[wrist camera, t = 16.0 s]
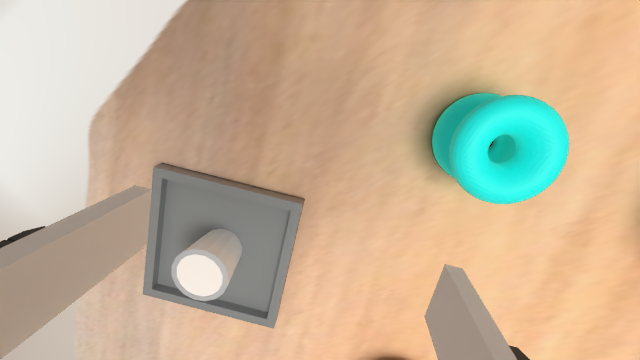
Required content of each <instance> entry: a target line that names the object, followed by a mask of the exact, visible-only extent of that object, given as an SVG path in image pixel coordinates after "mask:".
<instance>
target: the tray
mask: <svg viewBox="0 0 640 360" xmlns="http://www.w3.org/2000/svg"><path fill="white" fill-rule="evenodd" d="M304 200H305V199H303V198H299V197H295V196H291V195H287V194H283V193H279V192H275V191H271V190H267V189H263V188H259V187H255V186H251V185H247V184H243V183H239V182H235V181H231V180H227V179H223V178H219V177H215V176H211V175H207V174H203V173H199V172H196V171H192V170H188V169H184V168H180V167H176V166H172V165H168V164H164V163H162V164H159V165H157V166H154V168H153V180H152V193H151V205H150V217H149V229H148V241H147V252H146V264H145V276H144V288H143V294H144V295H148V296H152V297H155V298H159V299H163V300H167V301H171V302H175V303H178V304H182V305H186V306H190V307H194V308H197V309H201V310H205V311H209V312H213V313H217V314H220V315H224V316H228V317H232V318H236V319H239V320H243V321H247V322H251V323H255V324H258V325H262V326H266V327H270V328H274V326H275V323H276V320H277V316H278V312H279V307H280V303H281V299H282V294H283V290H284V286H285V281H286V277H287V273H288V269H289V264H290V260H291V256H292V251H293V247H294V243H295V238H296V234H297V230H298V226H299V221H300V217H301V213H302V208H303V204H304ZM219 228H220V229H226V230H228V231H230V232H232V233H234V234H235V235H236V236H237V237H238V239H239V240H240V242H241V245H242V255H241V257H240V259H239V262H238V264H237V266H236V268H235V270H234V273H233V275H232V277H231V279H230V282H229V284H228V286H227V288H226V289H225V291H224V293H223V294H222V295H221V296H219V297H218V298H216V299H214V300H209V301H200V300H194V299H192V298H190V297H188V296H186V295H185V294H183V293H182V292H181V291H180V290H179V289H178V288H177V287H176V285H175V283H174V280H173V278H172V264H173V262H174V260H175V258H176V257H177V256H178V255H179V254H181V253H182V252H183V251H184V250H186V249H187V248H188V247H190V246H191V245H192V244H194V243H195V242H196V241H198V240H199V239H200V238H202V237H203V236H204V235H206V234H207V233H208V232H210V231H211V230H214V229H219Z"/></svg>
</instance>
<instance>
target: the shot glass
mask: <svg viewBox="0 0 640 360" xmlns="http://www.w3.org/2000/svg"><path fill="white" fill-rule="evenodd" d="M241 255H242V245H241V242H240V240H239V239H238V237H237V236H236V235H235V234H234V233H232V232H230V231H228V230H226V229H220V228H219V229H214V230H211V231H210V232H208V233H207V234H206V235H204V236H203V237H202V238H200V239H199V240H198V241H196V242H195V243H194V244H192V245H191V246H190V247H188V248H187V249H186V250H184V251H183V252H182V253H181V254H179V255H178V256H177V257H176V258H175V260H174V262H173V264H172V278H173V280H174V283H175V285H176V287H177V288H178V289H179V290H180V291H181V292H182V293H183V294H185V295H186V296H188V297H190V298H192V299H194V300H200V301H209V300H214V299H216V298H218V297H219V296H221V295H222V294H223V293H224V291H225V289H226V288H227V286H228V284H229V282H230V279H231V277H232V275H233V273H234V270H235V268H236V266H237V264H238V262H239V259H240V257H241Z"/></svg>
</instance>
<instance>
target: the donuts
mask: <svg viewBox="0 0 640 360" xmlns="http://www.w3.org/2000/svg"><path fill="white" fill-rule="evenodd" d="M493 140H494V142H493V144H492V146H491V147H490V148H489V146H490V144H491V143H492V141H493ZM432 148H433V153H434V156H435V159H436V161H437V162H438V164H439V165H440V167H441V168H442V169H443V170H444V171H445V172H446V173H447V174H449V175H450V176H452V177H453V178H456V180H457V182H458V183H459V184H460V186H461V187H462V188H463V189H464V190H465V191H467V192H468V193H469V194H471V195H472V196H474V197H476V198H478V199H480V200H482V201H486V202H490V203H495V204H511V203H517V202H521V201H524V200H527V199H529V198H532V197H534V196H536V195H537V194H539V193H541V192H542V191H543V190H545V189H546V188H547V187H548V186H550V185H551V184H552V183H553V182H554V180H555V179H556V178H557V177H558V175H559V174H560V172H561V171H562V169H563V167H564V165H565V162H566V159H567V156H568V150H569V138H568V132H567V129H566V126H565V124H564V122H563V120H562V118H561V117H560V115H559V114H558V113H557V112H556V111H555V110H554V109H553V108H552V107H551V106H549V105H548V104H546V103H545V102H543V101H541V100H539V99H536V98H533V97H529V96H523V95H507V96H500V95H497V94H491V93H477V94H472V95H469V96H466V97H463V98H461V99H459V100H457V101H456V102H454V103H453V104H452V105H450V106H449V107H448V108H447V109H446V110H445V111H444V112H443V113H442V115H441V116H440V118H439V119H438V121H437V123H436V125H435V128H434V131H433V136H432Z"/></svg>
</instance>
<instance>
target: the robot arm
mask: <svg viewBox="0 0 640 360" xmlns="http://www.w3.org/2000/svg"><path fill="white" fill-rule="evenodd" d="M151 193H152V190H151V189H147V188H143V187H139V186H133V187H131V188H129V189H127V190H124V191H122V192H120V193H118V194H116V195H114V196H112V197H109V198H107V199H105V200H103V201H101V202H99V203H97V204H94V205H92V206H90V207H88V208H86V209H84V210H82V211H79V212H77V213H75V214H73V215H71V216H69V217H67V218H65V219H62V220H60V221H58V222H56V223H54V224H51V225H49V226H47V227H45V226H43V227H39V228H35V229H31V230H27V231H23V232H21V233H19V234H17V235H14V236H12V237H10V238H8V239H7V240H3V241H1V242H0V359H2V358H3V357H4V356H5V355H7V354H8V353H9V352H11V351H12V350H13V349H15V348H16V347H17V346H18V345H20V344H21V343H22V342H23V341H25V340H26V339H27V338H29V337H30V336H31V335H32V334H34V333H35V332H36V331H38V330H39V329H40V328H41V327H43V326H44V325H45V324H46V323H48V322H49V321H50V320H51V319H53V318H54V317H55V316H57V315H58V314H59V313H61V312H62V311H63V310H64V309H66V308H67V307H68V306H69V305H71V304H72V303H73V302H75V301H76V300H77V299H78V298H80V297H81V296H82V295H84V294H85V293H86V292H87V291H89V290H90V289H91V288H93V287H94V286H95V285H96V284H98V283H99V282H100V281H101V280H103V279H104V278H105V277H107V276H108V275H109V274H110V273H112V272H113V271H114V270H116V269H117V268H118V267H119V266H121V265H122V264H123V263H124V262H126V261H127V260H128V259H130V258H131V257H132V256H133V255H135V254H136V253H137V252H139V251H140V250H141V249H142V248H144V247H145V246H146V245H147V241H148V229H149V217H150V205H151ZM425 319H426V323H427V326H428V329H429V332H430V335H431V338H432V342H433V345H434V348H435V351H436V354H437V358H438V360H530V359H529V358H528V357H527V356H526V355H525V354H524V353H522V352H521V351H520V350H519V349H518V348H517V347H513V346H509V345H508V344H507V342H506V340H505V339H504V337H503V335H502V334H501V332H500V330H499V329H498V327H497V325H496V324H495V322H494V320H493V319H492V317H491V315H490V314H489V312H488V310H487V309H486V307H485V305H484V304H483V302H482V300H481V299H480V297H479V295H478V294H477V292H476V290H475V289H474V287H473V285H472V284H471V282H470V280H469V279H468V277H467V275H466V274H465V272H464V270H463V269H462V268H458V267H454V266H450V265H446V264H445V266H444V268H443V271H442V273H441V276H440V278H439V281H438V283H437V286H436V288H435V291H434V294H433V296H432V299H431V301H430V304H429V306H428V309H427V311H426V314H425Z"/></svg>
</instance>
